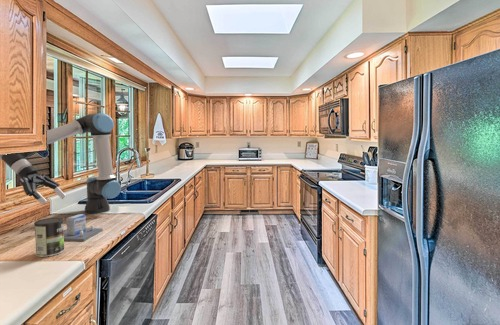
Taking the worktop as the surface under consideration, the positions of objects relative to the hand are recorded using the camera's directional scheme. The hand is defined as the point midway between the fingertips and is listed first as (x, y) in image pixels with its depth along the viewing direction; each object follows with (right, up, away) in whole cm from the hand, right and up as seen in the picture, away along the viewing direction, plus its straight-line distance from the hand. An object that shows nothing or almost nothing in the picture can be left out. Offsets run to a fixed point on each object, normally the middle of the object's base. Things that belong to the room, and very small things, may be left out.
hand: (55, 200), depth 147 cm
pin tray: (+10, -18, +1) cm, 21 cm away
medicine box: (+10, -17, +1) cm, 20 cm away
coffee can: (+12, -20, -21) cm, 32 cm away
